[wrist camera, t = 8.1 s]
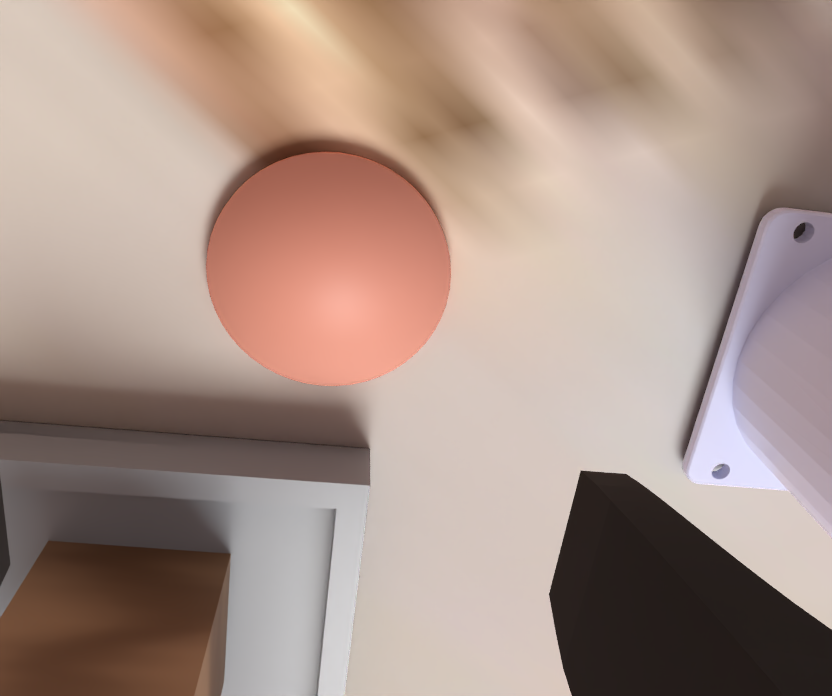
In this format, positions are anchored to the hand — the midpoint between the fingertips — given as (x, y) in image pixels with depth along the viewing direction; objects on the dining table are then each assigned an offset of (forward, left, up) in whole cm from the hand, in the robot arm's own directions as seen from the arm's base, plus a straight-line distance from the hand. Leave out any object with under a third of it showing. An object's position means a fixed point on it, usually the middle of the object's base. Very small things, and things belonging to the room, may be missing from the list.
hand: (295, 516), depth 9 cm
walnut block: (+5, +11, -9) cm, 15 cm away
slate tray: (+5, +11, -10) cm, 15 cm away
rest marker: (0, 0, -10) cm, 10 cm away
